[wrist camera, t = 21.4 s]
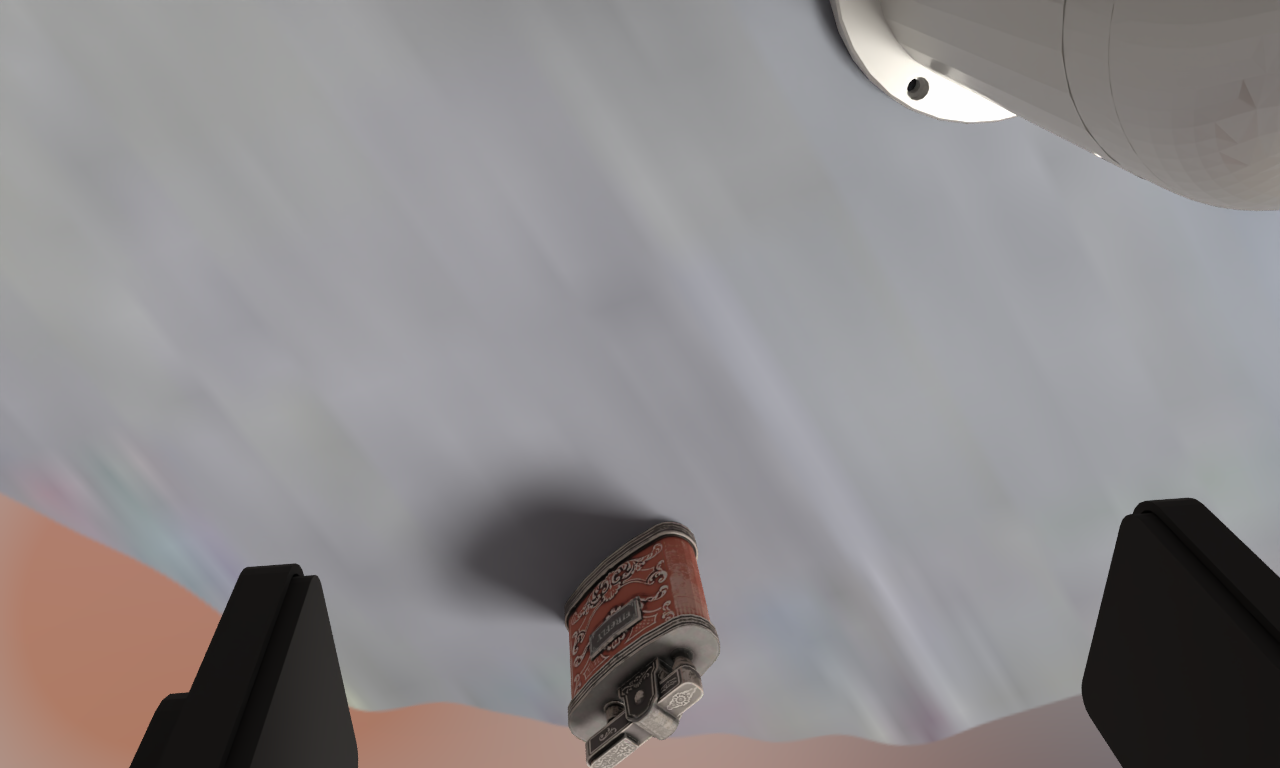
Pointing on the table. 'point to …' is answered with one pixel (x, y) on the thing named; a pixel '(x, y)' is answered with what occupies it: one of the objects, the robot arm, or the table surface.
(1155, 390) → the table surface
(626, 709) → the lighter
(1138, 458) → the table surface
